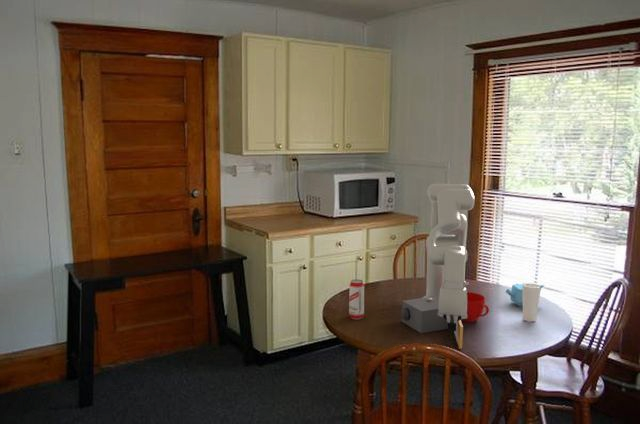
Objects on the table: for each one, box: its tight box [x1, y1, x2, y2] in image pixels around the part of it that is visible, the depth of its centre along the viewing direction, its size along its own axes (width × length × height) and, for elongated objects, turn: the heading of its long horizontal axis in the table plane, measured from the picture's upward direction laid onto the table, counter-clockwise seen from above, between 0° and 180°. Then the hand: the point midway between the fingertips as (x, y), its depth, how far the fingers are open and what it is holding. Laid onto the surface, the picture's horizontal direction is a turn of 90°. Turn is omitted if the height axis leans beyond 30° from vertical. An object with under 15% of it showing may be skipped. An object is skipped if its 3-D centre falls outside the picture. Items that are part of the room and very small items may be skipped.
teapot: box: [505, 282, 545, 309], centre depth 246 cm, size 18×14×10 cm
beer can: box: [348, 278, 365, 321], centre depth 228 cm, size 6×6×16 cm
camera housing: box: [400, 296, 453, 334], centre depth 221 cm, size 16×14×10 cm
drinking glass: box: [522, 282, 541, 323], centre depth 226 cm, size 7×7×15 cm
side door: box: [453, 315, 464, 350], centre depth 207 cm, size 22×1×8 cm, turn 173°
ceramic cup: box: [461, 291, 490, 323], centre depth 225 cm, size 13×17×10 cm
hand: (451, 332), depth 200 cm, fingers closed
